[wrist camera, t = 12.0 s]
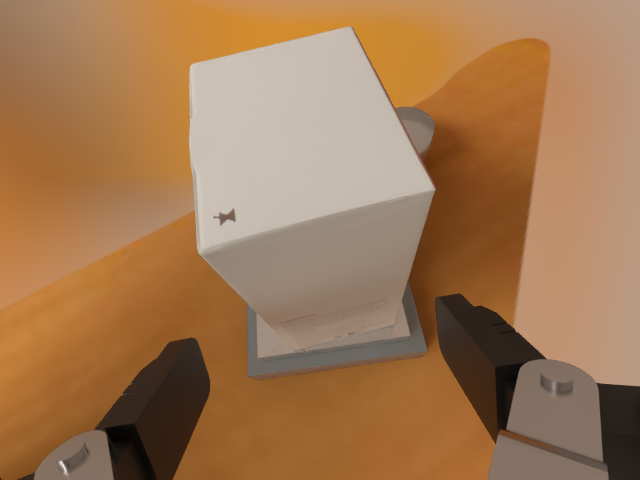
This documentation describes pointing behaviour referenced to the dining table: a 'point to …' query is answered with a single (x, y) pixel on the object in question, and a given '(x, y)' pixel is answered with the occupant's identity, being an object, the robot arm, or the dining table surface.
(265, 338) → the platter
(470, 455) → the dining table surface
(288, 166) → the small box
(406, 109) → the cylinder
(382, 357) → the scale base
